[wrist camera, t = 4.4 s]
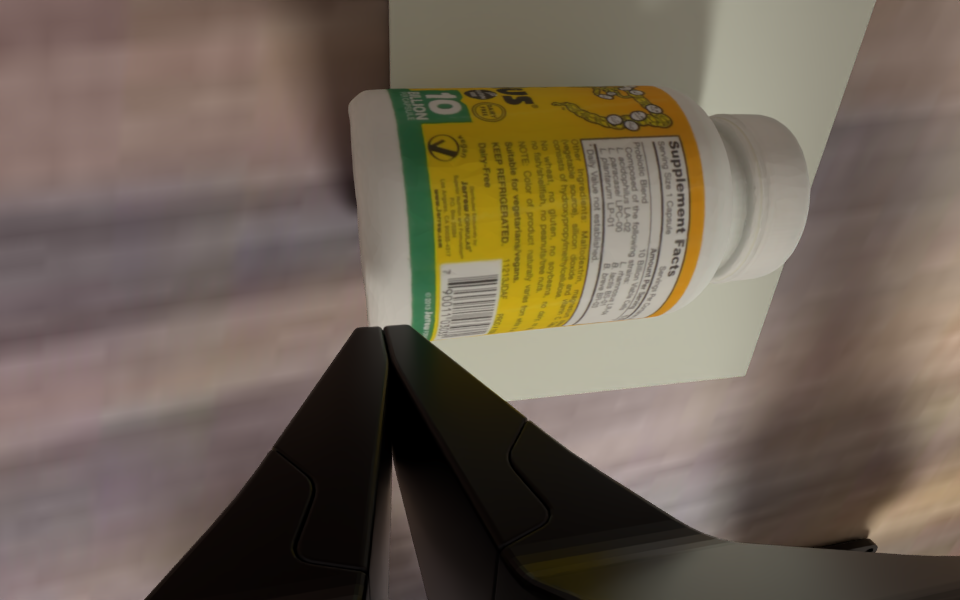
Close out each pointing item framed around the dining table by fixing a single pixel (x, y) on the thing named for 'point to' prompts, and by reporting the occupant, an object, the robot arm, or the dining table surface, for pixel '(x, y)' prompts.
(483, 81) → the mat
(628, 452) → the dining table surface
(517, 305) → the supplement bottle
